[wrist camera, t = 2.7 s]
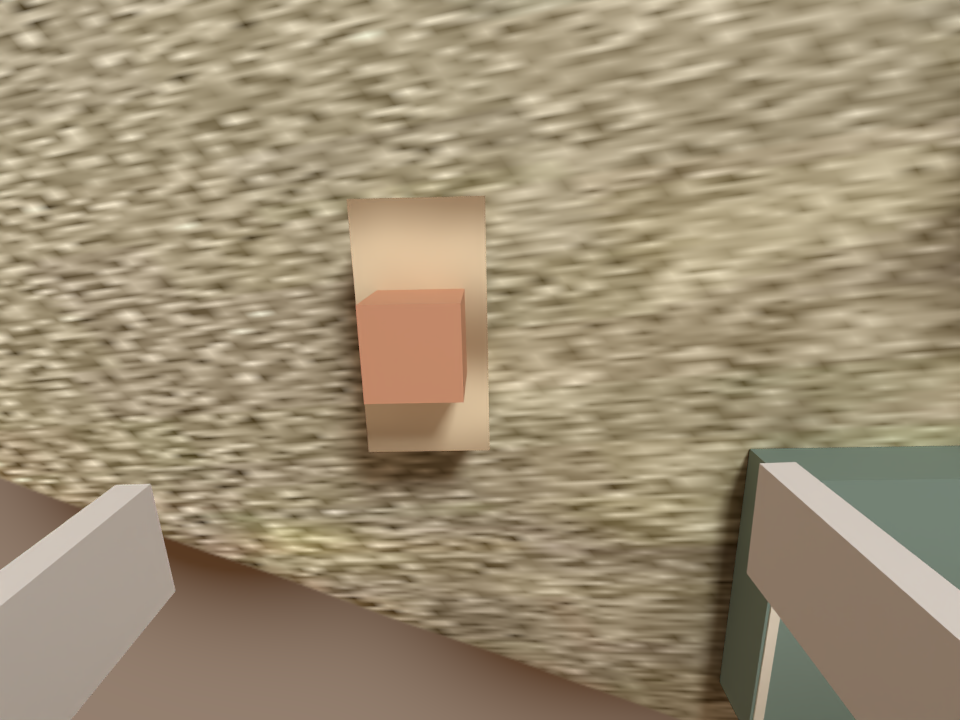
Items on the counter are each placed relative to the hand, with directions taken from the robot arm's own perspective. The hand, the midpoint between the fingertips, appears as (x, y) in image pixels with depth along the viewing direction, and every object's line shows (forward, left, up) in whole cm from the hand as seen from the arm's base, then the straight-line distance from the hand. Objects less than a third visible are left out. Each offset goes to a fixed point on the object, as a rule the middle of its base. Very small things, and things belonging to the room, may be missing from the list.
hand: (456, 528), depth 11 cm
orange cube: (-1, -2, -14) cm, 14 cm away
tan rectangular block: (-1, -2, -20) cm, 20 cm away
